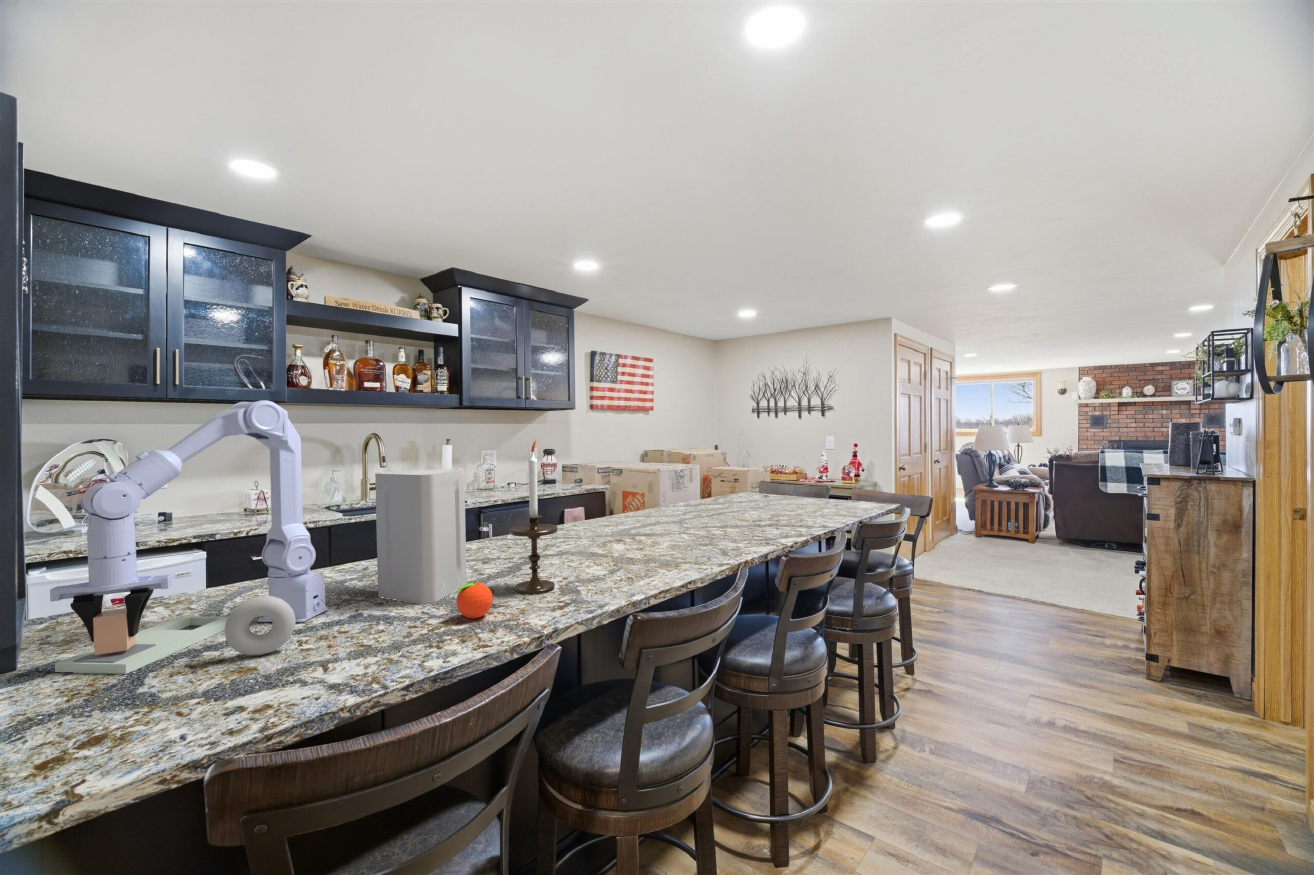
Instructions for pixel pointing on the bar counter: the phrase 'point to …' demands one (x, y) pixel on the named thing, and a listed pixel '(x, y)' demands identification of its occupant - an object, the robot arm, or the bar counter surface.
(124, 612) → the terracotta block
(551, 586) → the candlestick
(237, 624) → the donut
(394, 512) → the grey storage bin
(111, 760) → the bar counter surface
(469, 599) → the clementine
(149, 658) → the pocket board
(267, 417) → the robot arm
